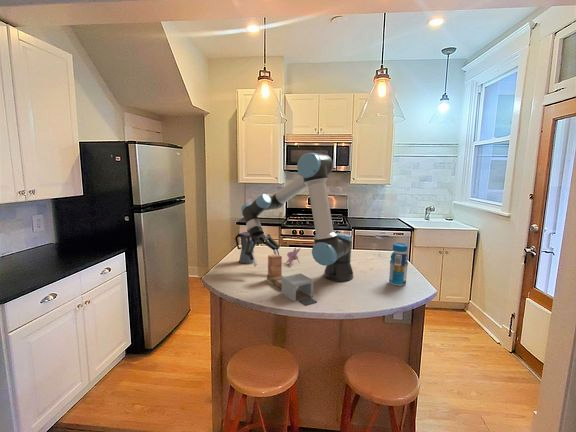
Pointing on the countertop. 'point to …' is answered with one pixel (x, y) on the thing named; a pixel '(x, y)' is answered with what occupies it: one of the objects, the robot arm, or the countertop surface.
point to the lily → (292, 256)
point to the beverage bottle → (398, 264)
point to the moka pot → (244, 247)
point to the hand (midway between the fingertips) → (267, 263)
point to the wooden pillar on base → (275, 269)
